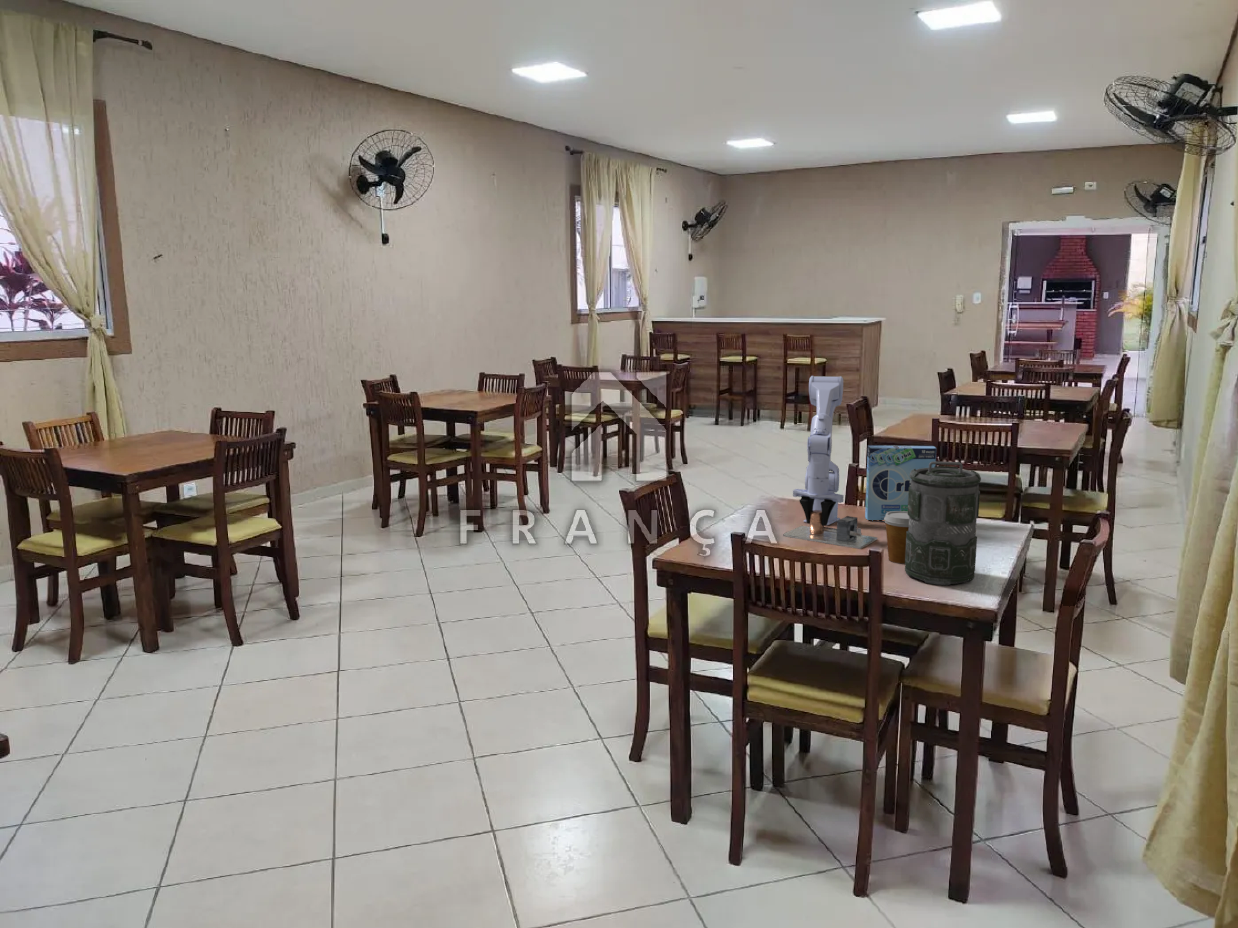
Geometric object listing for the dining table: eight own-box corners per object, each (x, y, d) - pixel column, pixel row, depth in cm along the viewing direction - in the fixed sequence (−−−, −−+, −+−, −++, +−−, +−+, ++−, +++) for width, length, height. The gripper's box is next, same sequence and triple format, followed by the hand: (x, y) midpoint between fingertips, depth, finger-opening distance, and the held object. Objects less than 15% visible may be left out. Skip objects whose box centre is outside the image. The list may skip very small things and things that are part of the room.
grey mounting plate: (801, 527, 253) (802, 507, 252) (877, 539, 239) (878, 518, 238) (783, 536, 244) (783, 515, 242) (860, 548, 230) (861, 526, 229)
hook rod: (807, 532, 243) (807, 512, 242) (813, 530, 246) (813, 509, 245) (857, 541, 234) (858, 519, 233) (863, 537, 237) (864, 516, 236)
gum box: (929, 519, 262) (933, 445, 258) (933, 523, 257) (937, 448, 253) (864, 517, 265) (867, 444, 261) (866, 521, 260) (869, 447, 256)
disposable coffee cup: (920, 556, 222) (923, 511, 220) (920, 567, 213) (923, 520, 211) (882, 553, 225) (884, 509, 223) (881, 563, 216) (883, 517, 214)
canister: (909, 584, 199) (915, 467, 194) (900, 565, 215) (905, 455, 210) (981, 588, 196) (989, 468, 192) (966, 568, 212) (973, 457, 207)
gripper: (788, 476, 242) (787, 523, 244) (836, 482, 233) (835, 530, 236) (799, 472, 247) (798, 518, 250) (847, 478, 239) (845, 525, 241)
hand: (816, 524), depth 243 cm, fingers closed on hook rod, 4 cm apart
